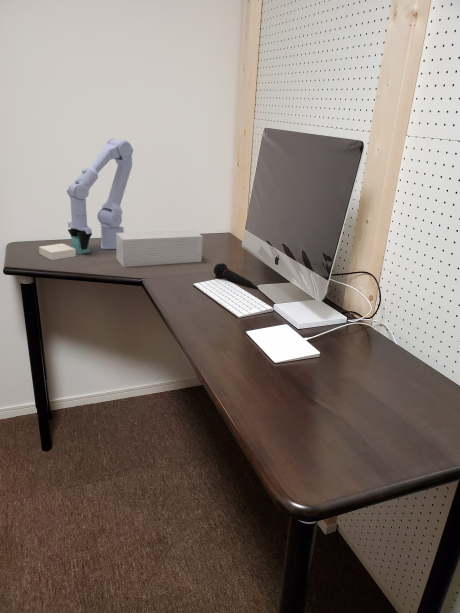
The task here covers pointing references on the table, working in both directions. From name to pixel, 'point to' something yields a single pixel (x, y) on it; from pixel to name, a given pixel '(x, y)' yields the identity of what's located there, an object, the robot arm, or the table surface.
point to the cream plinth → (57, 251)
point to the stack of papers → (158, 247)
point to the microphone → (231, 275)
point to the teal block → (78, 245)
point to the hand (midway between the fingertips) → (80, 247)
